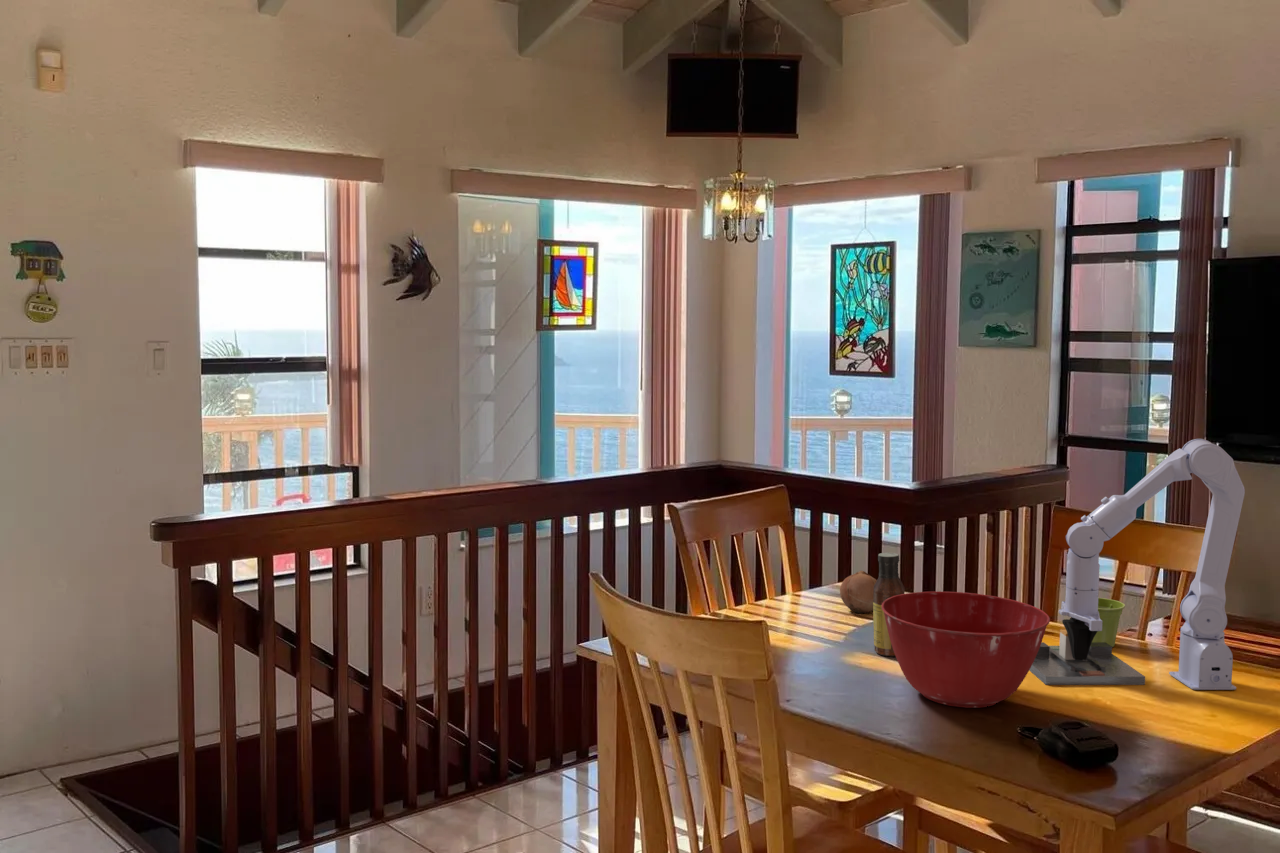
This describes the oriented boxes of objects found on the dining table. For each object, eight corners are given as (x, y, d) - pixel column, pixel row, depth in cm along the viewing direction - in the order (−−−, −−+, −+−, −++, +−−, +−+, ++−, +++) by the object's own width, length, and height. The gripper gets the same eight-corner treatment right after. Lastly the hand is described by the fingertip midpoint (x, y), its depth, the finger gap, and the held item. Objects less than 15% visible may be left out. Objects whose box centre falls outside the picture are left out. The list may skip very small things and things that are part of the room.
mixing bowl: (1061, 687, 210) (1064, 602, 209) (1026, 735, 186) (1029, 640, 184) (908, 663, 224) (910, 584, 223) (856, 704, 200) (858, 616, 199)
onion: (858, 620, 268) (860, 577, 271) (890, 617, 261) (892, 573, 264) (829, 610, 263) (832, 567, 266) (861, 607, 256) (864, 562, 259)
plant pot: (1115, 654, 231) (1117, 611, 230) (1067, 645, 237) (1068, 603, 236) (1128, 643, 238) (1130, 601, 237) (1081, 635, 244) (1083, 595, 243)
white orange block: (1086, 659, 221) (1087, 633, 220) (1065, 659, 221) (1066, 633, 220) (1080, 655, 224) (1080, 629, 223) (1059, 655, 224) (1060, 629, 223)
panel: (1144, 684, 211) (1145, 665, 211) (1045, 684, 211) (1046, 665, 211) (1100, 653, 231) (1101, 635, 231) (1009, 653, 231) (1010, 635, 231)
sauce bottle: (903, 649, 234) (906, 551, 232) (907, 658, 227) (910, 557, 226) (870, 648, 234) (872, 550, 232) (873, 657, 228) (875, 557, 226)
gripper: (1046, 578, 225) (1044, 647, 226) (1075, 596, 210) (1073, 670, 211) (1083, 578, 225) (1080, 647, 226) (1114, 596, 210) (1111, 670, 212)
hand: (1079, 658), depth 219 cm, fingers closed
